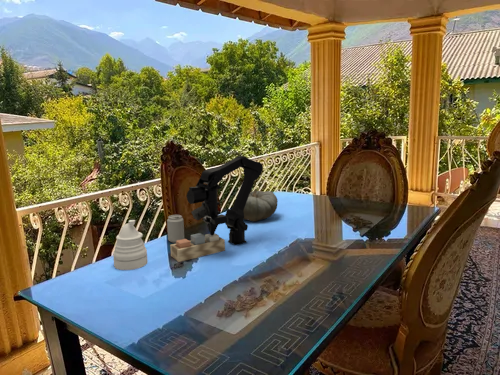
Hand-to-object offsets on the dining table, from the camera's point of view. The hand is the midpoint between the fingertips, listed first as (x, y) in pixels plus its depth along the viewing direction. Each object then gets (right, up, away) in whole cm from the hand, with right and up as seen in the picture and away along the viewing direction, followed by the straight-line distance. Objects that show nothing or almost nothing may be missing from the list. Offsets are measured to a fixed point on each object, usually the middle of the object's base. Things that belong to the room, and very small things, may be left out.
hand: (212, 235), depth 165 cm
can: (-18, -5, +14) cm, 23 cm away
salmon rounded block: (-11, -6, -7) cm, 15 cm away
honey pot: (-31, -10, -12) cm, 35 cm away
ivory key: (0, -5, +1) cm, 5 cm away
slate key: (-6, -5, -3) cm, 8 cm away
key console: (-6, -8, -2) cm, 10 cm away
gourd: (+20, +3, +50) cm, 54 cm away
